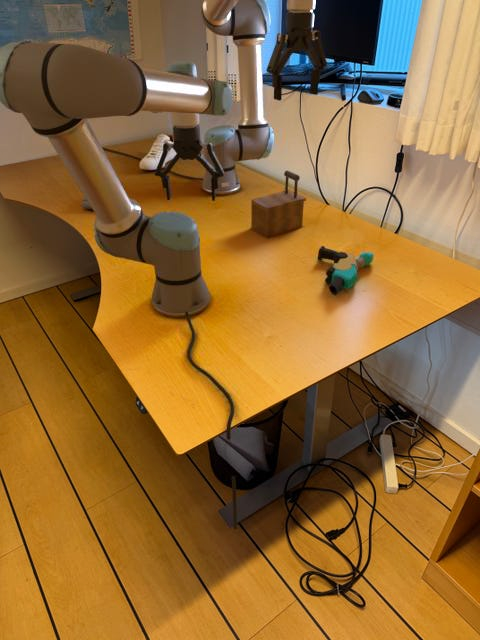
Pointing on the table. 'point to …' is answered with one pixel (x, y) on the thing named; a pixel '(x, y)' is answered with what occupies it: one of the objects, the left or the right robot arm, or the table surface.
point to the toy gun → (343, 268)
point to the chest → (276, 219)
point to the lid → (281, 196)
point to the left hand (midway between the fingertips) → (191, 198)
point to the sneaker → (157, 153)
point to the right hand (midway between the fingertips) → (295, 96)
